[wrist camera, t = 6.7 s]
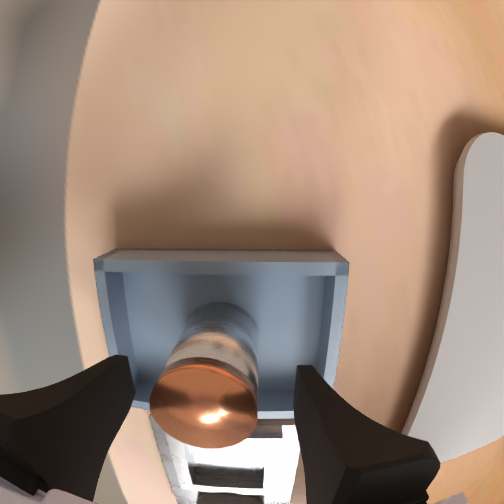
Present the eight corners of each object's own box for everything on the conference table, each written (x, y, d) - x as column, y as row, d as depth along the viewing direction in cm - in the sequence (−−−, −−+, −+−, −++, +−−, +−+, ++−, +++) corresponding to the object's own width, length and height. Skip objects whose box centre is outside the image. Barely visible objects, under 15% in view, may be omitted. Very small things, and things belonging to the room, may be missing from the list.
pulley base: (302, 412, 18) (308, 447, 14) (286, 503, 20) (288, 530, 17) (154, 405, 18) (139, 437, 15) (181, 498, 21) (175, 523, 17)
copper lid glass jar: (259, 302, 16) (258, 375, 9) (257, 366, 16) (256, 451, 10) (183, 300, 16) (141, 366, 9) (189, 363, 16) (158, 442, 10)
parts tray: (335, 250, 15) (349, 262, 13) (320, 390, 17) (327, 416, 15) (115, 248, 16) (93, 259, 13) (135, 382, 17) (122, 405, 15)
